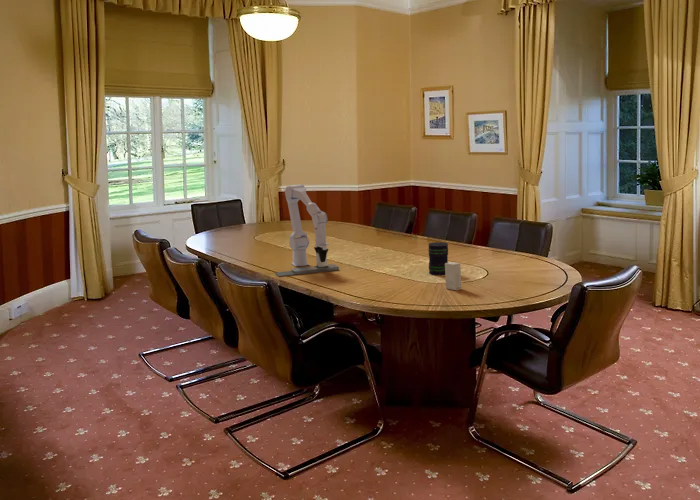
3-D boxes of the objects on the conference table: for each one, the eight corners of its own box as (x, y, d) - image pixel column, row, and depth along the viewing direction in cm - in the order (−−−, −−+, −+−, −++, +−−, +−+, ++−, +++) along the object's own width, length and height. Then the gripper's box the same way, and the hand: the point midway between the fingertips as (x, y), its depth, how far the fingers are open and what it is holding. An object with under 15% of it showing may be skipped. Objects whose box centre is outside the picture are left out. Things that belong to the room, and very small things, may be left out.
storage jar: (425, 272, 350) (425, 243, 348) (443, 270, 353) (442, 241, 350) (433, 276, 341) (433, 246, 338) (451, 274, 344) (451, 244, 341)
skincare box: (461, 289, 314) (461, 263, 312) (455, 290, 311) (455, 264, 309) (451, 286, 319) (450, 261, 316) (444, 288, 316) (444, 263, 313)
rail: (291, 271, 363) (290, 268, 363) (334, 267, 371) (334, 263, 370) (294, 275, 356) (294, 271, 356) (338, 270, 363) (338, 266, 363)
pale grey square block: (316, 265, 366) (316, 252, 364) (324, 264, 367) (324, 251, 366) (318, 267, 361) (318, 254, 360) (327, 266, 363) (326, 253, 361)
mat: (275, 273, 361) (274, 272, 361) (291, 271, 364) (291, 270, 364) (278, 276, 353) (278, 276, 353) (295, 275, 356) (295, 274, 355)
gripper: (331, 237, 355) (332, 262, 358) (324, 232, 369) (325, 257, 372) (318, 238, 353) (319, 264, 356) (311, 234, 367) (312, 259, 369)
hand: (321, 261), depth 364 cm, fingers closed on pale grey square block, 4 cm apart
